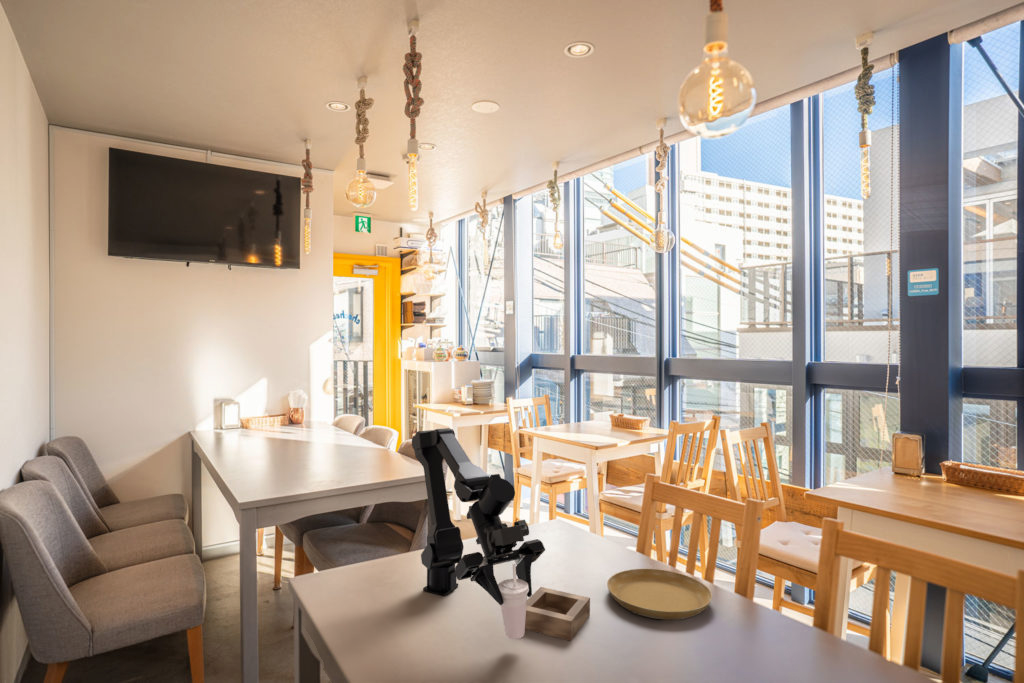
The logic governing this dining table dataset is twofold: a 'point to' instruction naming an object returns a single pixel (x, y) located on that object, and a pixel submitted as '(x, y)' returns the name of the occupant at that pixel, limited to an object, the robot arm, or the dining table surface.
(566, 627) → the caddy
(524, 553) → the robot arm
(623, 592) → the plant saucer
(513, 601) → the smoothie
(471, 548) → the dining table surface
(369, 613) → the dining table surface
